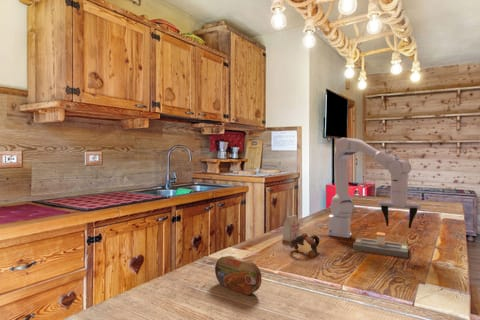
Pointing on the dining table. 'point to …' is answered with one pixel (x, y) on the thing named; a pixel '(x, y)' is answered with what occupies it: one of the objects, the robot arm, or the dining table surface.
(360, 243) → the panel
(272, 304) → the dining table surface
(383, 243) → the block
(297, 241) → the brown animal figurine
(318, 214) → the dining table surface
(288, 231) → the grey upright block
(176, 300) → the dining table surface
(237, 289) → the tin
